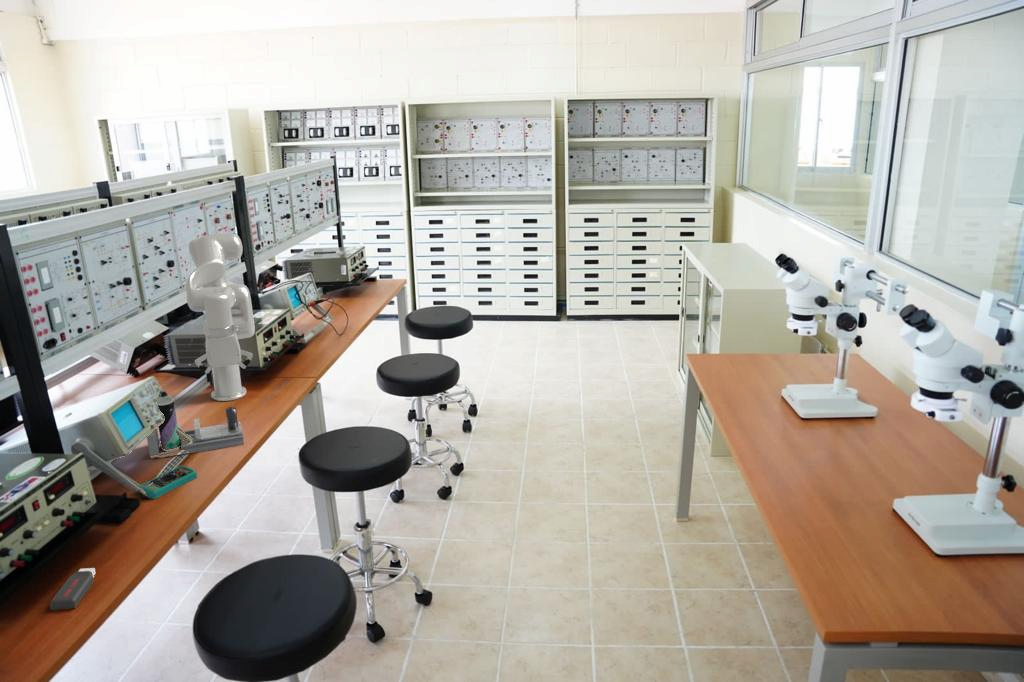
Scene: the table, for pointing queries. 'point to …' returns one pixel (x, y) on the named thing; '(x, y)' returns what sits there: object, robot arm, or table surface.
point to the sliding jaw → (219, 428)
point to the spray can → (168, 422)
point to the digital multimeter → (169, 481)
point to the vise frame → (192, 448)
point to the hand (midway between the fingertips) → (227, 381)
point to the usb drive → (73, 589)
